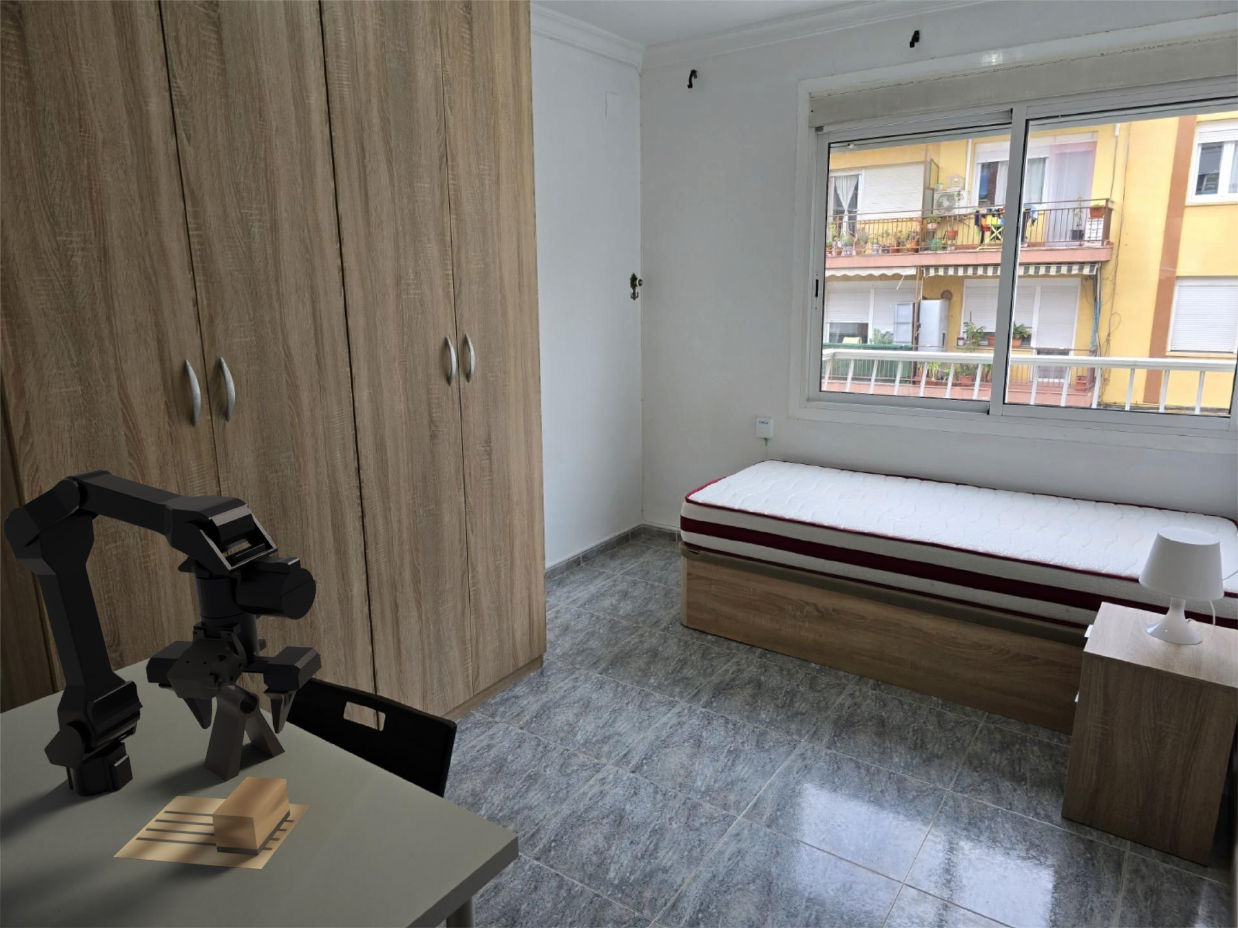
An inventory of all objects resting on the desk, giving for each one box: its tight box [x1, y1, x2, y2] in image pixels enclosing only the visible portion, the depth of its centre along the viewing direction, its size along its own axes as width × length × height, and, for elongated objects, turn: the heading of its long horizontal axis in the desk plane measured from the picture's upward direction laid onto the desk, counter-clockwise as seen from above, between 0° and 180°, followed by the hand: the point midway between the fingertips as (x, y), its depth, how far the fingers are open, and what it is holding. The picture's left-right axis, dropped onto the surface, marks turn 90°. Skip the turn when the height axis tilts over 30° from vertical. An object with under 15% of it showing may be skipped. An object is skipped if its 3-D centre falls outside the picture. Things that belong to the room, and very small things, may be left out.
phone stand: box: [203, 682, 286, 782], centre depth 106 cm, size 9×6×12 cm, turn 143°
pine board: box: [113, 795, 311, 870], centre depth 93 cm, size 18×11×1 cm, turn 83°
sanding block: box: [212, 776, 290, 855], centre depth 92 cm, size 5×7×5 cm
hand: (242, 729), depth 93 cm, fingers open, 9 cm apart
